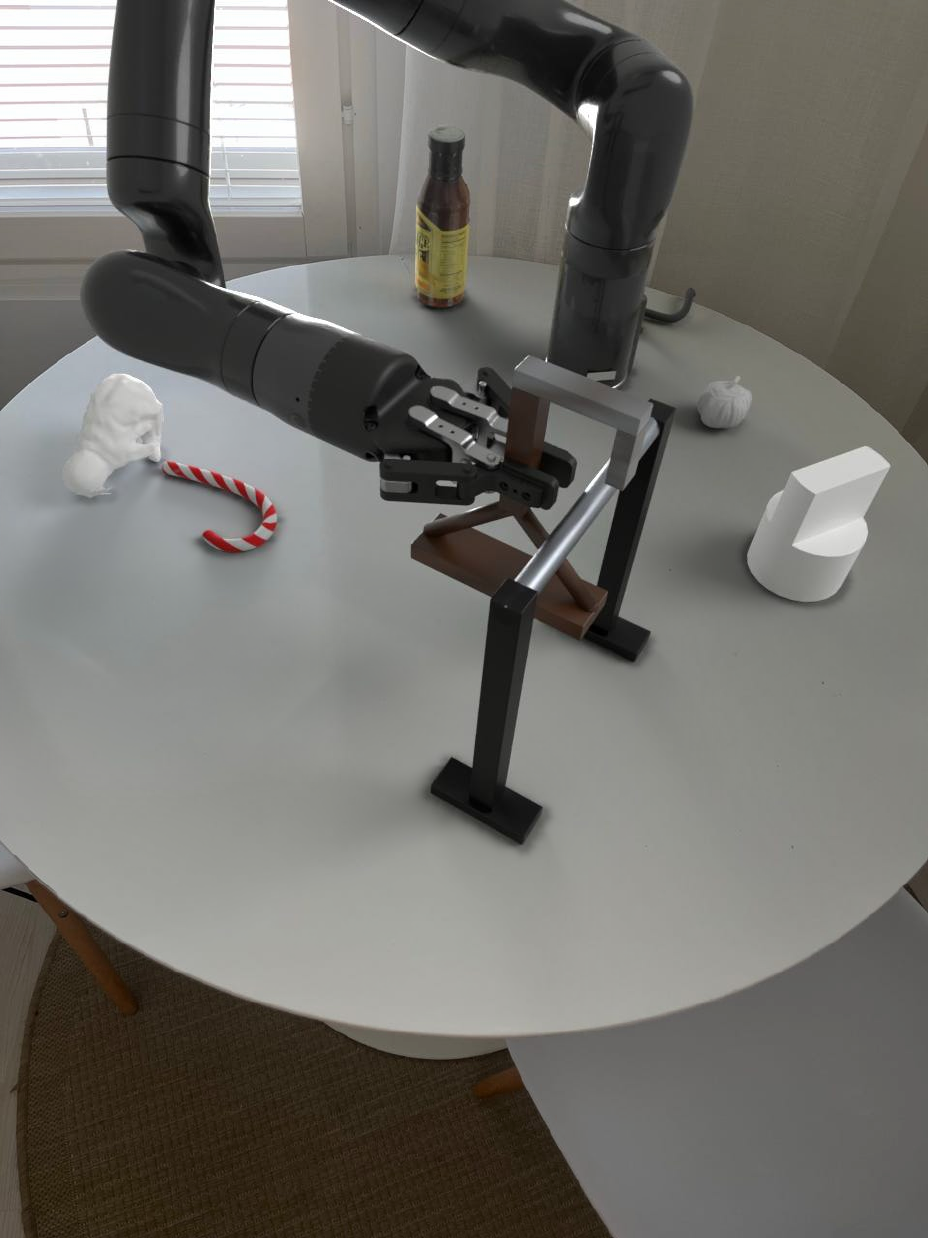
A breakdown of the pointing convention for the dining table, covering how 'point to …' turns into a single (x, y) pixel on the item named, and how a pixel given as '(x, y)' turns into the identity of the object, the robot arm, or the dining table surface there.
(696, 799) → the dining table surface
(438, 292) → the sauce bottle
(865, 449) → the cylinder with rectangular tab
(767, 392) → the dining table surface
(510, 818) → the rail
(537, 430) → the hanger
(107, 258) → the robot arm
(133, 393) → the white lumpy figurine
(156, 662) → the dining table surface
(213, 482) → the candy cane
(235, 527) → the dining table surface
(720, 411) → the garlic
